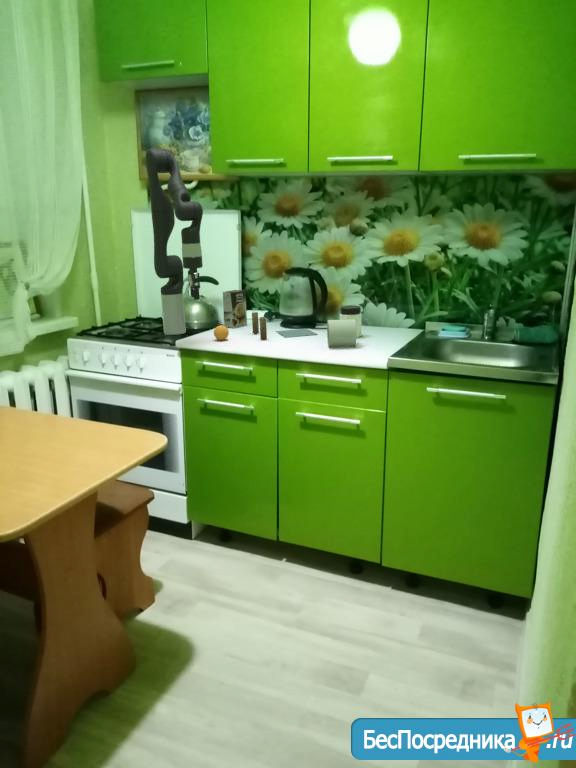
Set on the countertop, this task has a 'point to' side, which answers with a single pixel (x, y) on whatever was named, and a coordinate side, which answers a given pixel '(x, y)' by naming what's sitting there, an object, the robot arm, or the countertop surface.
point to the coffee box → (234, 308)
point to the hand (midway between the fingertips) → (195, 298)
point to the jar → (352, 316)
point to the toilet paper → (341, 333)
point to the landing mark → (296, 333)
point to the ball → (221, 332)
